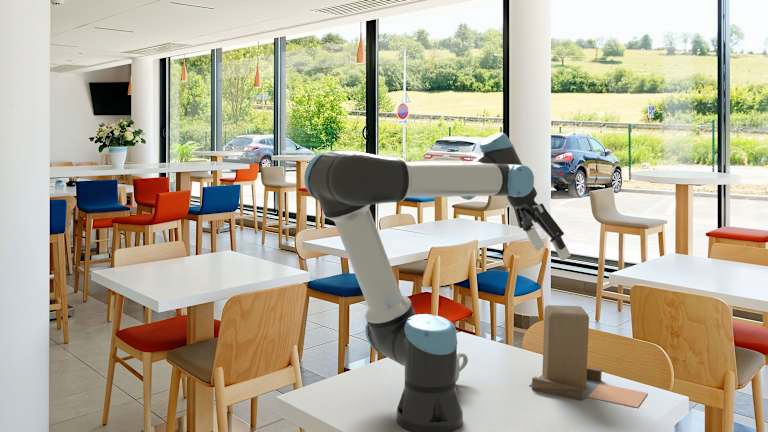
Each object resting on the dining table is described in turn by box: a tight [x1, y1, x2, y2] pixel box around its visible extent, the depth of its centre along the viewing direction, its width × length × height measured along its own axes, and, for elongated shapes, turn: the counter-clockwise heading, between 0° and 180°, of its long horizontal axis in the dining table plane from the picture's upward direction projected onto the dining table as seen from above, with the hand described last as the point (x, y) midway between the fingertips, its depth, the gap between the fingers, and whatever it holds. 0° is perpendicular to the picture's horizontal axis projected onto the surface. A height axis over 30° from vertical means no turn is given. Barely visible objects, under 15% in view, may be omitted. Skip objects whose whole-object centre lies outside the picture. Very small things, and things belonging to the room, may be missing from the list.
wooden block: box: [541, 304, 590, 389], centre depth 174 cm, size 10×10×20 cm
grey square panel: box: [528, 374, 602, 399], centre depth 175 cm, size 13×15×1 cm
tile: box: [587, 382, 649, 409], centre depth 168 cm, size 11×12×1 cm
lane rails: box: [531, 366, 603, 401], centre depth 175 cm, size 17×13×3 cm
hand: (552, 253), depth 181 cm, fingers open, 13 cm apart
